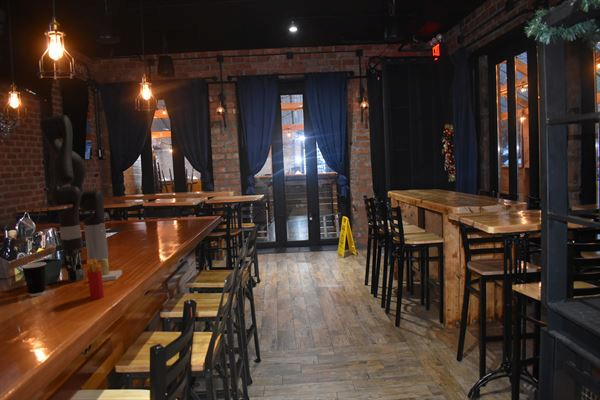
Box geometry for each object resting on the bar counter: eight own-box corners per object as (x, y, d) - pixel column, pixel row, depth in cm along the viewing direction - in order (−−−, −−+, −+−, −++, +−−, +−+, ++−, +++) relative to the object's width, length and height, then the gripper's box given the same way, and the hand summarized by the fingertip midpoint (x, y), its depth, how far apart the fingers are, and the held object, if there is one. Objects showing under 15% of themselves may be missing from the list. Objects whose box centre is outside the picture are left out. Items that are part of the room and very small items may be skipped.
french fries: (103, 299, 165) (99, 261, 163) (89, 301, 163) (85, 262, 162) (104, 292, 173) (100, 256, 172) (91, 294, 172) (87, 257, 171)
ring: (71, 278, 199) (69, 267, 198) (86, 277, 199) (85, 266, 199) (66, 282, 193) (64, 271, 192) (82, 280, 193) (80, 269, 193)
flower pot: (64, 280, 196) (62, 258, 195) (47, 286, 188) (44, 263, 187) (47, 280, 199) (45, 258, 198) (29, 286, 191) (26, 263, 190)
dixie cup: (51, 290, 182) (47, 261, 181) (48, 295, 175) (44, 265, 174) (27, 293, 180) (23, 264, 178) (23, 299, 172) (19, 268, 171)
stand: (96, 276, 200) (94, 258, 199) (122, 273, 201) (120, 255, 200) (89, 282, 190) (87, 263, 189) (116, 279, 191) (114, 260, 190)
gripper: (67, 235, 201) (72, 275, 202) (54, 240, 187) (60, 284, 188) (86, 233, 202) (91, 273, 203) (75, 239, 188) (80, 281, 189)
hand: (76, 278), depth 196 cm, fingers closed on ring, 6 cm apart
